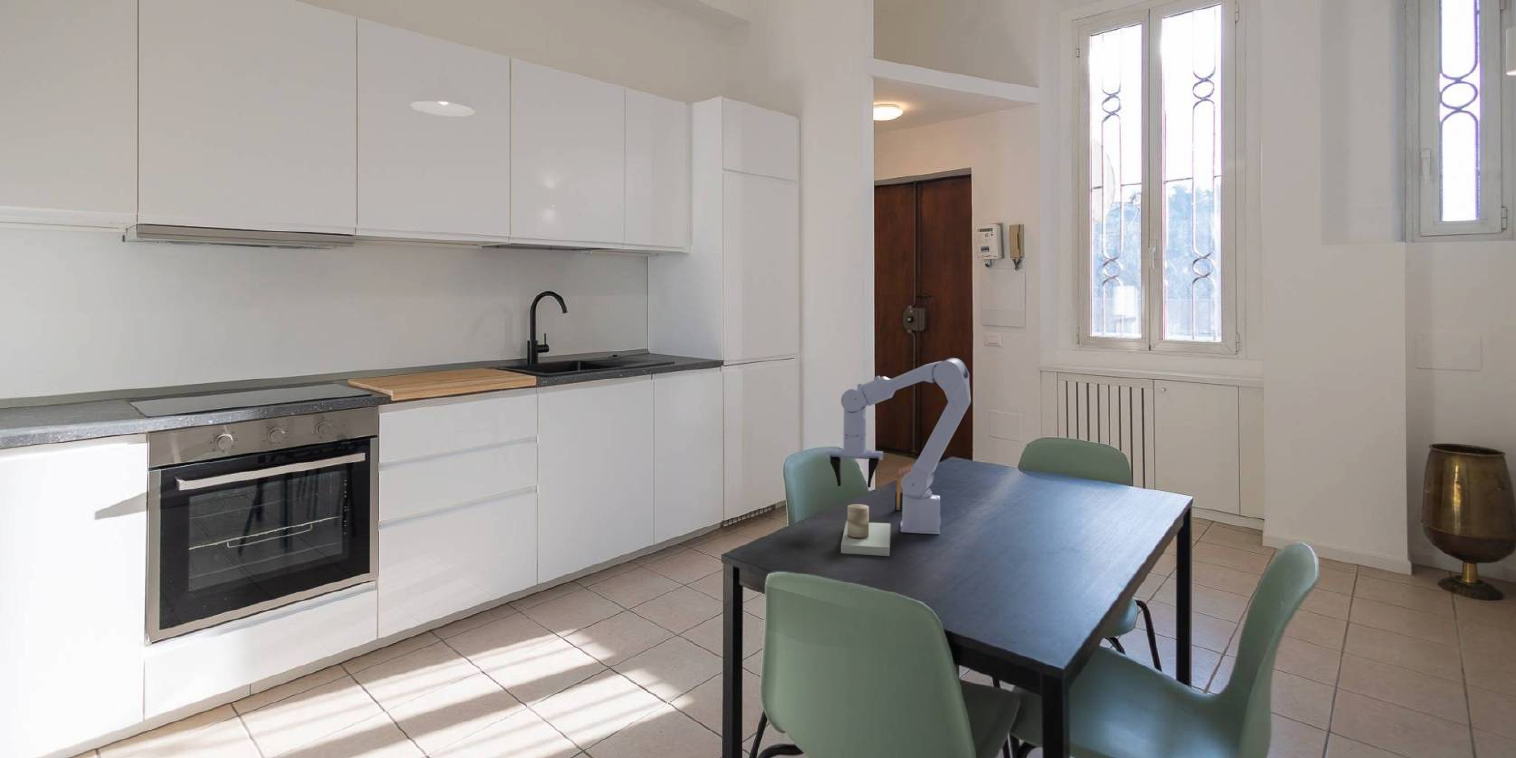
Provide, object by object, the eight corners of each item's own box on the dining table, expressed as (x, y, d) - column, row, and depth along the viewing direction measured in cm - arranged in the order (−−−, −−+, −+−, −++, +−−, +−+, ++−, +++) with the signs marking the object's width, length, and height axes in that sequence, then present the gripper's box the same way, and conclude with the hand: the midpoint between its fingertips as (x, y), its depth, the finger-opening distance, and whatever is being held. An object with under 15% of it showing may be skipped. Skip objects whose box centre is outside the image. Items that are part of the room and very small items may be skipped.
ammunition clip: (900, 511, 205) (901, 468, 204) (894, 510, 206) (895, 467, 205) (920, 503, 213) (921, 461, 212) (914, 502, 214) (915, 460, 213)
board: (890, 531, 188) (890, 523, 188) (889, 555, 171) (889, 547, 170) (846, 528, 190) (846, 521, 190) (840, 553, 173) (840, 544, 172)
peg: (865, 539, 182) (865, 503, 181) (870, 546, 177) (871, 509, 176) (845, 540, 181) (845, 504, 180) (850, 547, 176) (850, 510, 175)
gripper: (883, 432, 197) (882, 483, 198) (828, 430, 199) (827, 480, 201) (882, 437, 190) (882, 490, 191) (825, 435, 192) (825, 487, 194)
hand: (854, 485), depth 196 cm, fingers open, 7 cm apart
